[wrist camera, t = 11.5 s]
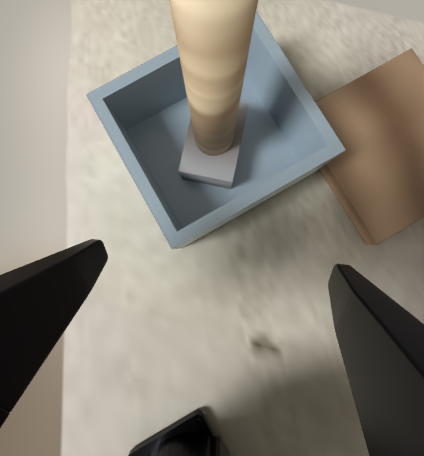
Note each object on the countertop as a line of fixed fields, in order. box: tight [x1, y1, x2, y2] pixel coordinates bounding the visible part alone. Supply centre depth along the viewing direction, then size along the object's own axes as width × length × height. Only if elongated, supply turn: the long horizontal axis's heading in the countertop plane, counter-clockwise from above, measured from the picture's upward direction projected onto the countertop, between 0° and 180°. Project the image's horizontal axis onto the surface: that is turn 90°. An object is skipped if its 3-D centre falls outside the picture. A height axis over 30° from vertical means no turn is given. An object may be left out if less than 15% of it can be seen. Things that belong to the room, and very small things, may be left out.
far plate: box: [315, 48, 424, 244], centre depth 18 cm, size 11×12×1 cm
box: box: [86, 11, 346, 249], centre depth 16 cm, size 13×12×4 cm
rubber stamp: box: [169, 0, 258, 189], centre depth 12 cm, size 6×4×12 cm, turn 168°
